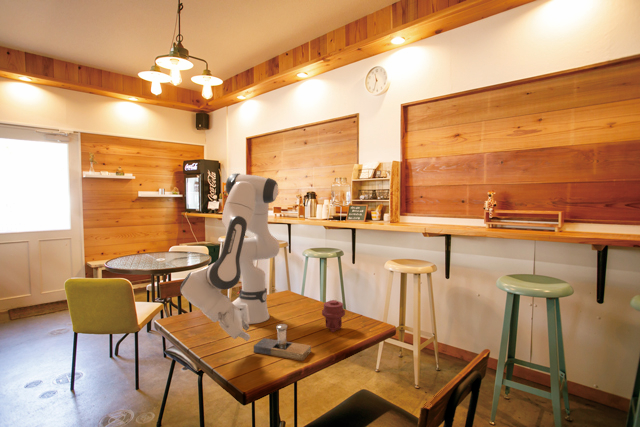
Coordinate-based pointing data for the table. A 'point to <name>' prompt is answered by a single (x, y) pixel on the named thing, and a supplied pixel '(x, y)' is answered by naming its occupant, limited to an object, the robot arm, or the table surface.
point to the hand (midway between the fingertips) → (248, 333)
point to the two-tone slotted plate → (291, 351)
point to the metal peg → (281, 336)
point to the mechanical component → (333, 314)
